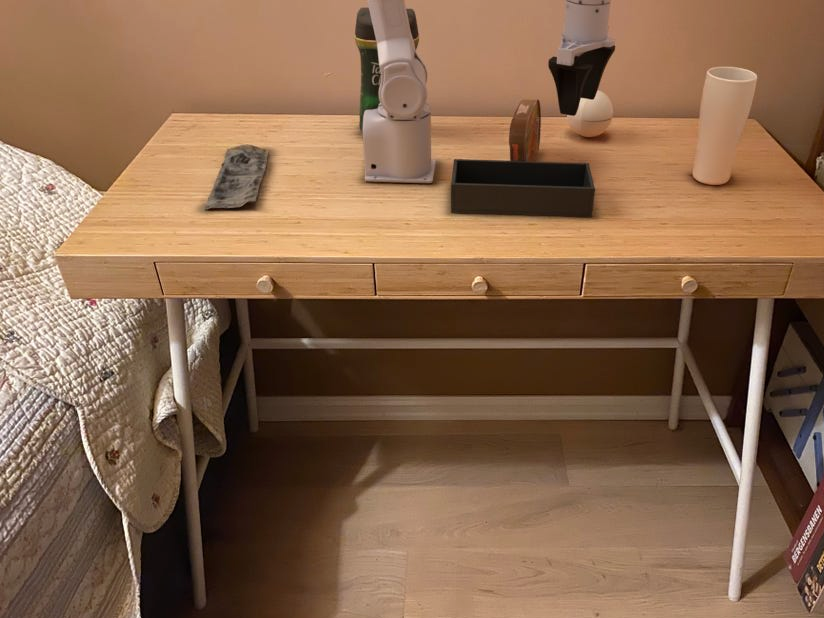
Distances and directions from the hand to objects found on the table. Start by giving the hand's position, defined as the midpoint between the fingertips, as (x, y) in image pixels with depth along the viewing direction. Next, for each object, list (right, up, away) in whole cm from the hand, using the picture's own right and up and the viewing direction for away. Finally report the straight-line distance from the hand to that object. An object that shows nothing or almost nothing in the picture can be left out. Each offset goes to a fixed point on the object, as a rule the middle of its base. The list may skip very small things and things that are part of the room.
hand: (577, 105), depth 110 cm
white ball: (+5, +1, +18) cm, 19 cm away
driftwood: (-47, -10, +1) cm, 48 cm away
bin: (-8, -14, -2) cm, 16 cm away
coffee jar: (-28, +1, +17) cm, 33 cm away
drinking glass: (+20, -9, +5) cm, 23 cm away
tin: (-7, -6, +8) cm, 12 cm away
